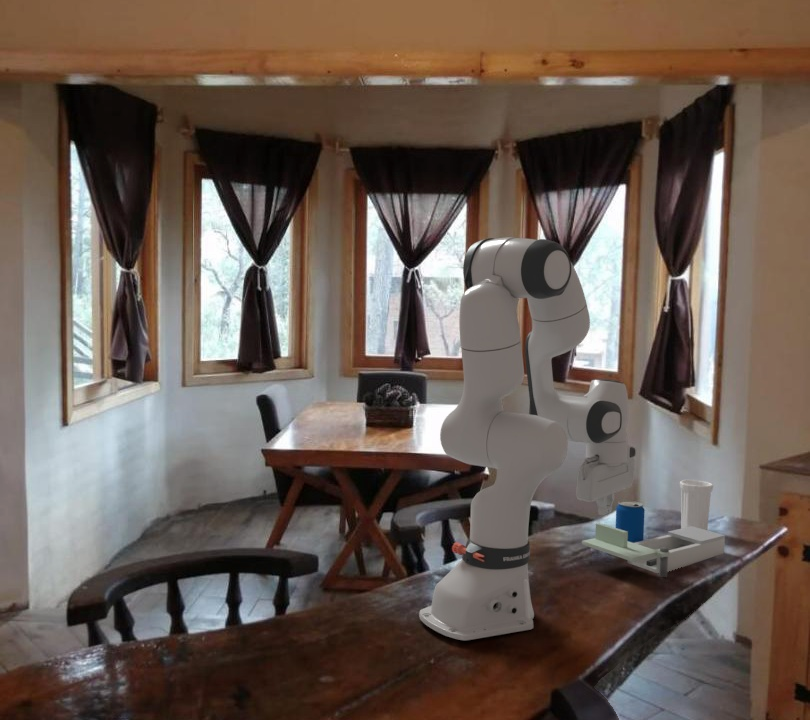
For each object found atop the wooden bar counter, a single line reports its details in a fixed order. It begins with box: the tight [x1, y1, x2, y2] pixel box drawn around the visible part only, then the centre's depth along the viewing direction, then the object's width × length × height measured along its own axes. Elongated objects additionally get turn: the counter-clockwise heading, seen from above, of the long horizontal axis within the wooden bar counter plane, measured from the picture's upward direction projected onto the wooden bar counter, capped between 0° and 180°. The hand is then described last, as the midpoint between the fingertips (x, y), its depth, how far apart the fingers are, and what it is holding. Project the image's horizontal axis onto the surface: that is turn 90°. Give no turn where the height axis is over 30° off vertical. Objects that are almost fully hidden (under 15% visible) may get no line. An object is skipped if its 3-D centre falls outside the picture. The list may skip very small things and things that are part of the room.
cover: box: [581, 522, 670, 562], centre depth 164 cm, size 16×11×4 cm
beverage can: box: [615, 500, 646, 543], centre depth 177 cm, size 6×6×12 cm
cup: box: [679, 479, 714, 530], centre depth 192 cm, size 8×8×14 cm
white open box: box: [627, 526, 726, 578], centre depth 172 cm, size 25×11×5 cm, turn 125°
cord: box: [646, 558, 657, 566], centre depth 173 cm, size 23×1×1 cm, turn 125°
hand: (604, 513), depth 164 cm, fingers closed
